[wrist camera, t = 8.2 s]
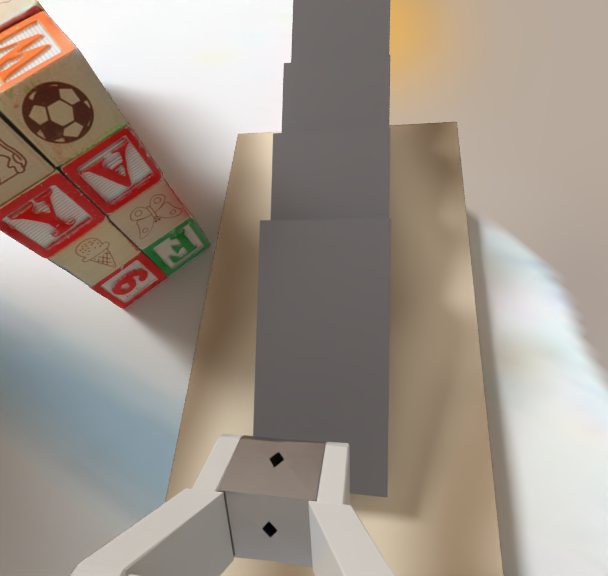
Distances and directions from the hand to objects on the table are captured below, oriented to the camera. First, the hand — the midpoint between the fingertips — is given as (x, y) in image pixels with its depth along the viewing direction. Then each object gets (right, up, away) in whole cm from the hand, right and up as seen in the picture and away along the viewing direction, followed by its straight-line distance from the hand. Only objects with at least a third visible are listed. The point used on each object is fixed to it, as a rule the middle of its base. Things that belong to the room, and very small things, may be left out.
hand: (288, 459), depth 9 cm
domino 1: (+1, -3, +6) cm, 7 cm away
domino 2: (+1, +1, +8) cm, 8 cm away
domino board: (+2, +1, +10) cm, 10 cm away
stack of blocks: (-14, +12, +18) cm, 25 cm away
